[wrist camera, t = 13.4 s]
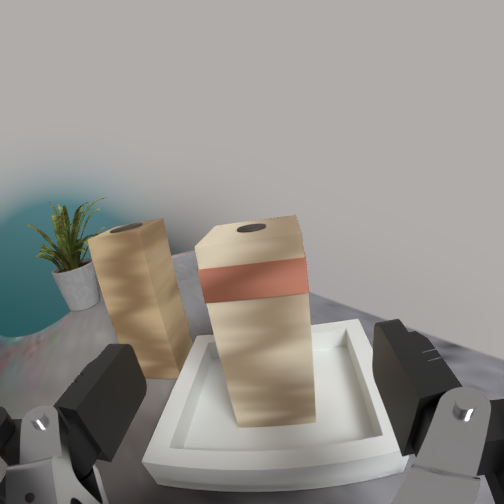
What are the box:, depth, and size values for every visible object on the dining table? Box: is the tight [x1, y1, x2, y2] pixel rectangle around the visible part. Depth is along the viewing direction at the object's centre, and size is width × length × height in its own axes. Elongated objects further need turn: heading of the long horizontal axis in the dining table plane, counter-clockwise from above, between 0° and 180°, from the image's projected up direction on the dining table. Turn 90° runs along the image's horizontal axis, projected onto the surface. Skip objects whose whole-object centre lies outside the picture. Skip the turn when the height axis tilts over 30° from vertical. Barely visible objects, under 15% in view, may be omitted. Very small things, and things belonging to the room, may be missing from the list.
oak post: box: [87, 218, 193, 379], centre depth 23 cm, size 4×4×12 cm
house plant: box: [26, 199, 101, 311], centre depth 39 cm, size 14×14×16 cm
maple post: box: [195, 215, 316, 428], centre depth 16 cm, size 5×5×11 cm
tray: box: [141, 319, 409, 492], centre depth 18 cm, size 13×13×2 cm
